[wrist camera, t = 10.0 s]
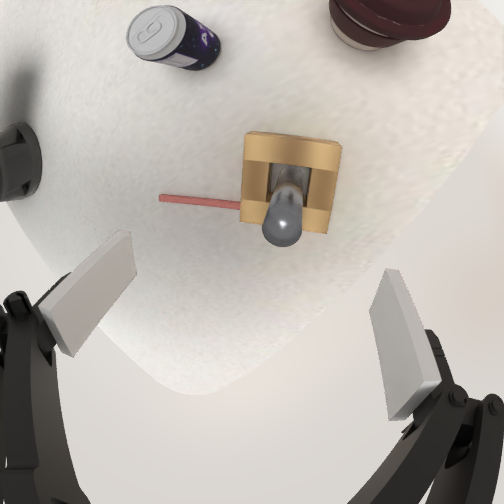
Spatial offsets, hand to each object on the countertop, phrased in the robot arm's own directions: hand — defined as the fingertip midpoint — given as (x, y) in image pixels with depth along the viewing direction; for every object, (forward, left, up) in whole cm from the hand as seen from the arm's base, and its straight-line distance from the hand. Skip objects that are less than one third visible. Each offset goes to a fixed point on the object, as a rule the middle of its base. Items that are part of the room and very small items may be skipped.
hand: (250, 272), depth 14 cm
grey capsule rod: (+1, -1, -22) cm, 22 cm away
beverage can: (-11, +15, -22) cm, 29 cm away
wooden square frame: (+1, -1, -22) cm, 22 cm away
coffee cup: (+8, +20, -22) cm, 31 cm away
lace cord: (-10, -5, -22) cm, 24 cm away
